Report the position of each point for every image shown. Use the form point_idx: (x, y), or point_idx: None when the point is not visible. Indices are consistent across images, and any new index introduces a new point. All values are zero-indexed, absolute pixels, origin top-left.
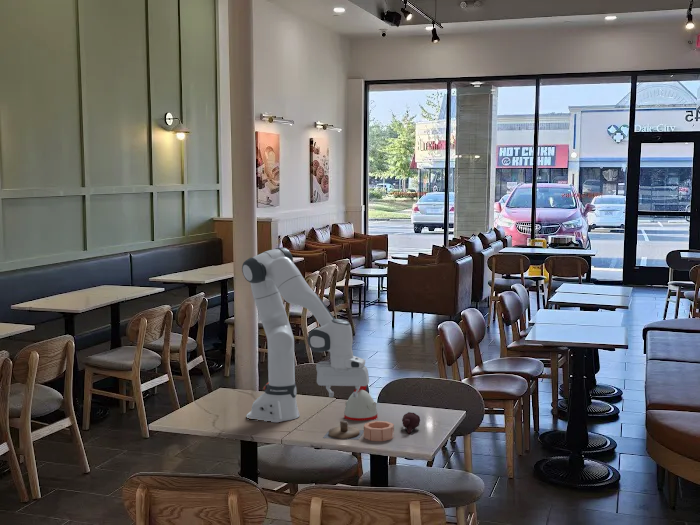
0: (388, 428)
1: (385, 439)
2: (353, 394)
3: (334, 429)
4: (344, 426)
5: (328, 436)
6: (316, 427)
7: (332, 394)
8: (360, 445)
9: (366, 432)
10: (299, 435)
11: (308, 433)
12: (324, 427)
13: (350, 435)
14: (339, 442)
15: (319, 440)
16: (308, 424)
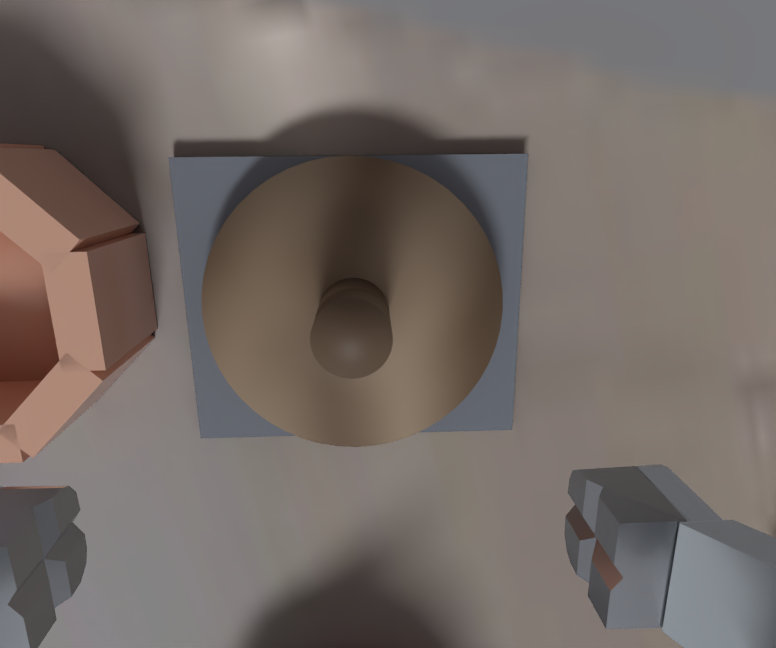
0: None
1: None
2: (12, 520)
3: (457, 343)
4: (336, 292)
5: (481, 204)
6: None
7: (603, 494)
8: (107, 18)
9: (65, 197)
10: (756, 236)
11: (683, 307)
12: None
13: (253, 191)
14: (342, 83)
15: (547, 115)
16: None
